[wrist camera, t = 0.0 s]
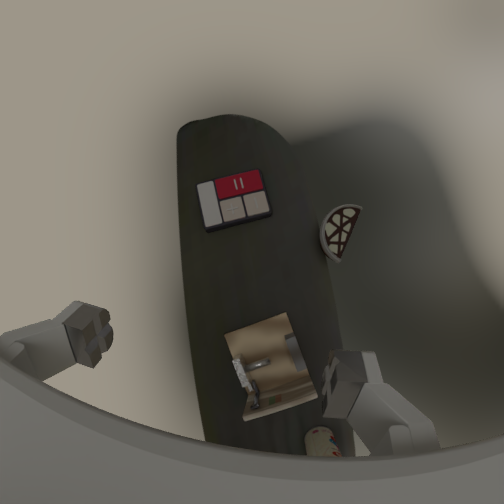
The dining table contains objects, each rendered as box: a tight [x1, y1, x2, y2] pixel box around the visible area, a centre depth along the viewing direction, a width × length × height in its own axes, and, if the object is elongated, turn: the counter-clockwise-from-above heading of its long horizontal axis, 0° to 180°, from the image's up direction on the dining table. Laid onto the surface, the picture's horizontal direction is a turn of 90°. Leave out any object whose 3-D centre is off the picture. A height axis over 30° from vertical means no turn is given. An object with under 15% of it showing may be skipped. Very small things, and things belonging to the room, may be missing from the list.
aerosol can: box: [304, 426, 342, 457], centre depth 48 cm, size 7×7×20 cm
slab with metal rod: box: [232, 353, 271, 391], centre depth 57 cm, size 8×7×5 cm
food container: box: [320, 204, 363, 263], centre depth 59 cm, size 12×6×10 cm, turn 154°
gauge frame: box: [224, 312, 318, 421], centre depth 55 cm, size 16×14×14 cm
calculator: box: [195, 169, 272, 233], centre depth 65 cm, size 11×4×15 cm
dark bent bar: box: [250, 379, 260, 409], centre depth 54 cm, size 3×2×10 cm, turn 21°
